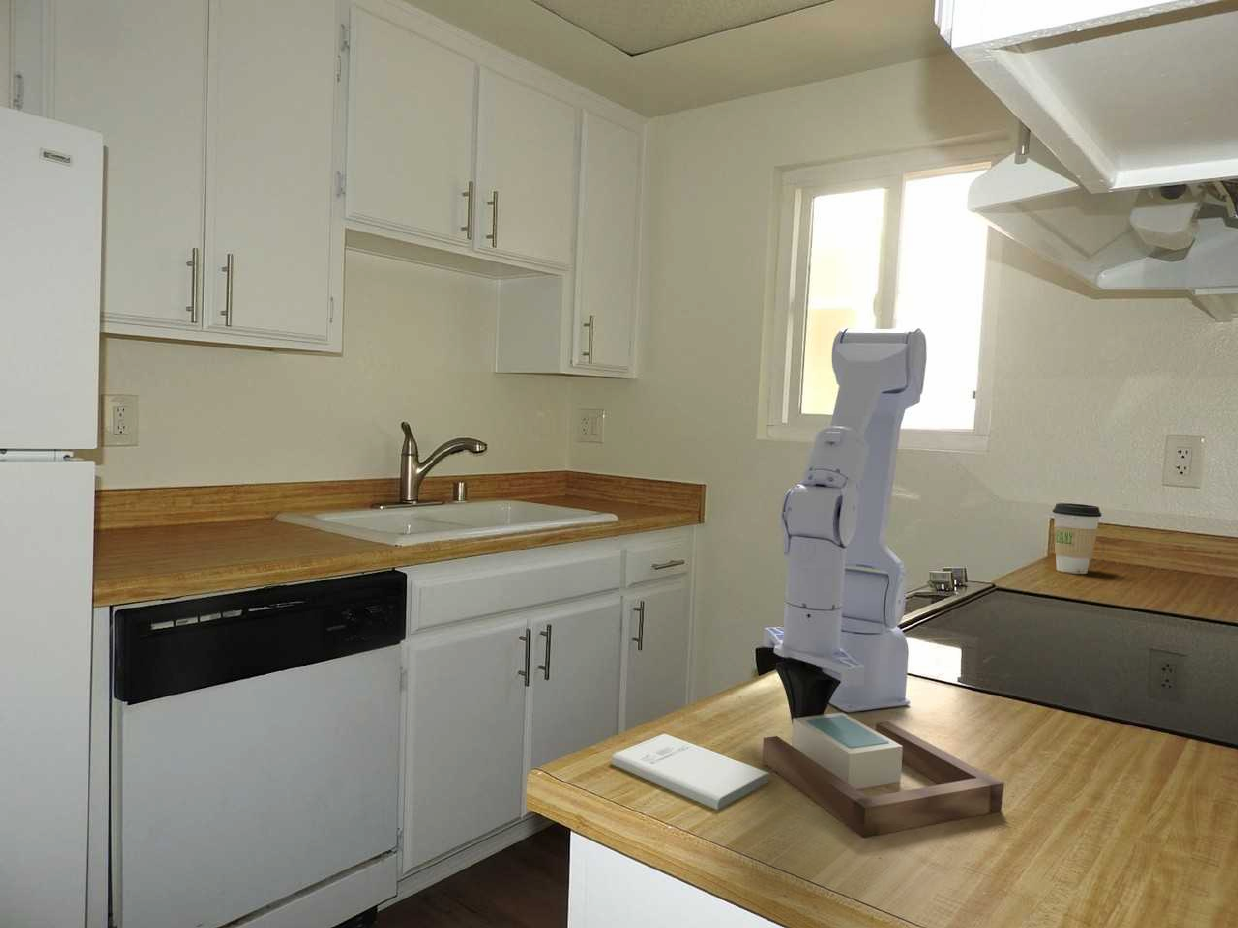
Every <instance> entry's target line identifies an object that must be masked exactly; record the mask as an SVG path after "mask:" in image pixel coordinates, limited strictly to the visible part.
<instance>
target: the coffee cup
mask: <svg viewBox="0 0 1238 928" xmlns="http://www.w3.org/2000/svg"><path fill="white" fill-rule="evenodd" d="M1052 513H1053V515H1054V524H1053V530H1054V545H1055V546H1054V550H1055V560H1056V561H1055V562H1056V570H1057V571H1059V572H1063V573H1065V574H1066V573H1068V574H1075V575H1086V574H1088V572H1089V567H1090V563H1091V558H1092V556H1093V552H1094V548H1095V542H1096V538H1097V533H1098V525H1099V520H1100V518H1101V517H1102V513H1101V512H1100V507H1099V506H1096V505H1090V504H1084V503H1083V504H1081V503H1069V502H1068V503H1067V502H1064V503H1063V502H1062V503H1061V502H1058V503H1056V504H1055V507H1054V508H1053V509H1052Z"/></svg>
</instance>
